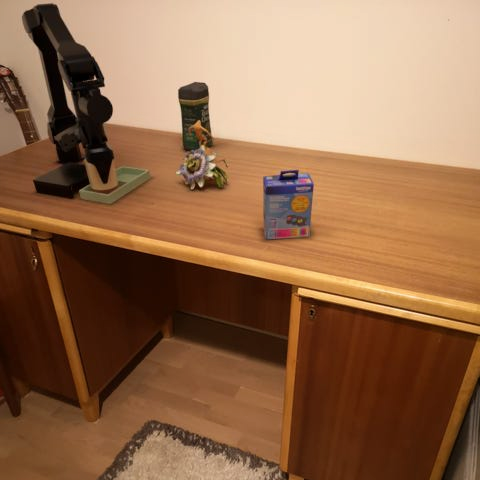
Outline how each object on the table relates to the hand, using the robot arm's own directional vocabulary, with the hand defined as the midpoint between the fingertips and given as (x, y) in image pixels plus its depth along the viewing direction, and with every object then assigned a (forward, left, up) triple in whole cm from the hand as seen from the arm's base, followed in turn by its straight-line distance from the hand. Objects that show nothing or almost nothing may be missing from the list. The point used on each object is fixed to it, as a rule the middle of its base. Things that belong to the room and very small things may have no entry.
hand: (103, 178), depth 118 cm
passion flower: (-14, +21, -4) cm, 26 cm away
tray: (-4, 0, -4) cm, 6 cm away
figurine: (-29, +13, -4) cm, 32 cm away
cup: (0, 0, -2) cm, 2 cm away
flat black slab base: (-1, -13, -4) cm, 14 cm away
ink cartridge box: (+4, +51, -4) cm, 51 cm away
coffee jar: (-40, +5, -4) cm, 41 cm away
